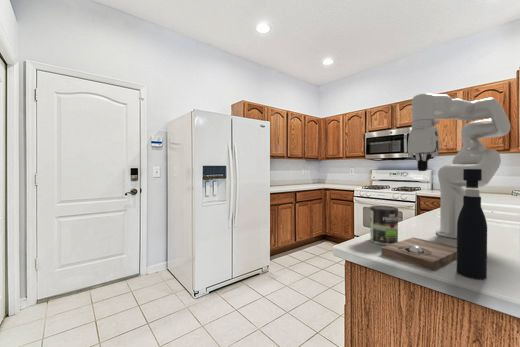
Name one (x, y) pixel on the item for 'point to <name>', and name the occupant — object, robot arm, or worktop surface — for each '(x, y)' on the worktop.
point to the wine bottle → (472, 230)
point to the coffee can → (384, 225)
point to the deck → (430, 257)
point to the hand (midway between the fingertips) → (422, 170)
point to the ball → (415, 249)
